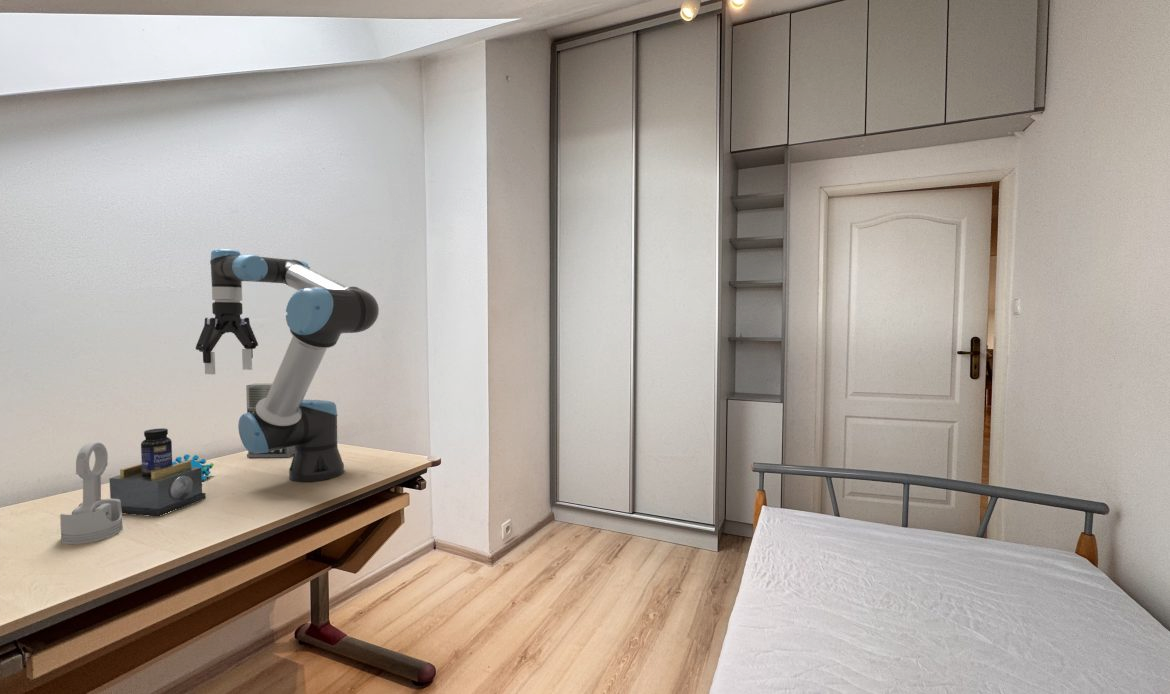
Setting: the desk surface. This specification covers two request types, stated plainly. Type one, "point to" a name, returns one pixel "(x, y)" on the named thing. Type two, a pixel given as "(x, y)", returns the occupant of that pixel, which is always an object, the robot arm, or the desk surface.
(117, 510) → the engine component
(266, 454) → the grey cassette player
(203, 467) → the blue spiky rounded piece
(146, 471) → the pill bottle
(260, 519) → the desk surface
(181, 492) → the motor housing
